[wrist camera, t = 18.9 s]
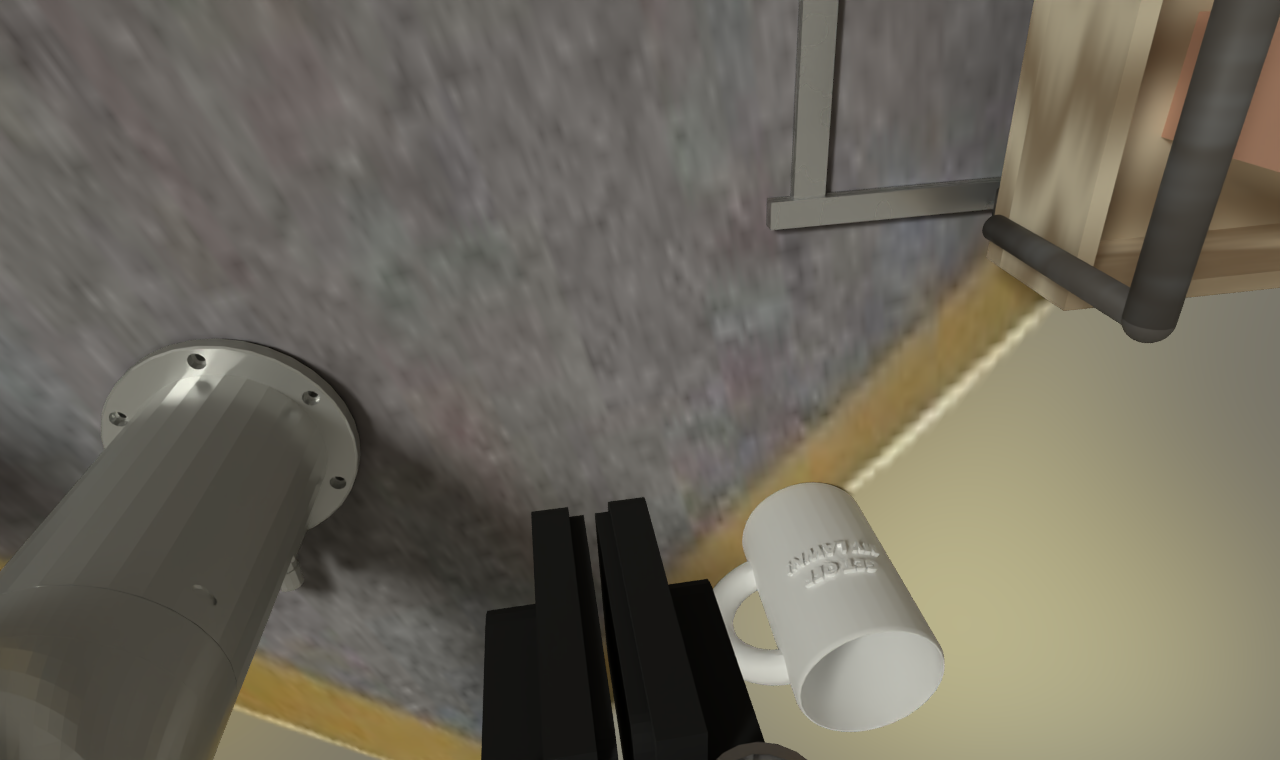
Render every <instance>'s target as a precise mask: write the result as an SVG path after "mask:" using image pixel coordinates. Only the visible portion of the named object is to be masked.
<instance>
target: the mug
mask: <svg viewBox="0 0 1280 760" xmlns="http://www.w3.org/2000/svg"><path fill="white" fill-rule="evenodd" d="M742 543H743V549H744V553H745V556H746V558H747V562H745V563H743V564H741V565H740V566H738V567H736V568H735V569H733V570H732V571H731V572H729V573H728V574H727V575H726V576H725V577H723V578H722V579H721V580H720V581H719V582H718V584H717V585H716V586H715V587H714V589H713V591H714V594H715V597H716V600H717V603H718V606H719V609H720V612H721V615H722V617H723V620H724V623H725V626H726V629H727V632H728V635H729V638H730V641H731V644H732V647H733V650H734V653H735V656H736V659H737V662H738V665H739V668H740V671H741V673H742V676H743V679H744V680H745V681H748V682H751V683H756V684H761V685H771V686H773V685H788V684H791V687H792V690H793V693H794V696H795V699H796V702H797V704H798V706H799V708H800V710H801V711H802V712H803V713H804V714H805V715H806V716H807V717H808V718H809V719H810V720H811V721H812V722H814V723H815V724H817V725H819V726H821V727H824V728H826V729H830V730H835V731H841V732H857V731H866V730H871V729H876V728H880V727H883V726H886V725H889V724H891V723H894V722H896V721H898V720H900V719H902V718H904V717H906V716H908V715H909V714H911V713H912V712H914V711H915V710H917V709H918V708H919V707H921V706H922V705H923V704H924V703H925V702H926V701H927V700H928V699H929V698H930V697H931V696H932V695H933V693H934V692H935V691H936V690H937V688H938V686H939V684H940V682H941V680H942V677H943V673H944V655H943V651H942V648H941V646H940V644H939V643H938V641H937V639H936V638H935V636H934V634H933V633H932V631H931V629H930V627H929V626H928V624H927V622H926V621H925V619H924V617H923V616H922V614H921V612H920V610H919V609H918V607H917V605H916V603H915V602H914V600H913V598H912V597H911V595H910V593H909V591H908V590H907V588H906V586H905V585H904V583H903V581H902V579H901V578H900V576H899V574H898V573H897V571H896V569H895V567H894V566H893V564H892V562H891V561H890V559H889V557H888V555H887V554H886V552H885V550H884V549H883V547H882V545H881V543H880V542H879V540H878V539H877V537H876V535H875V533H874V531H873V530H872V528H871V526H870V525H869V523H868V521H867V519H866V518H865V516H864V514H863V513H862V511H861V509H860V507H859V506H858V504H857V503H856V501H855V500H854V499H853V497H852V496H850V495H849V494H848V493H847V492H845V491H843V490H841V489H840V488H838V487H836V486H833V485H829V484H825V483H816V482H810V483H800V484H796V485H792V486H789V487H786V488H784V489H781V490H779V491H777V492H775V493H774V494H772V495H770V496H768V497H767V498H766V499H765V500H764V501H762V502H761V503H760V504H759V505H758V506H757V507H756V508H755V510H754V511H753V512H752V513H751V515H750V517H749V518H748V520H747V522H746V525H745V528H744V532H743V540H742ZM755 591H758V593H759V596H760V598H761V601H762V604H763V607H764V610H765V613H766V616H767V618H768V621H769V624H770V627H771V630H772V633H773V636H774V639H775V641H776V644H777V647H778V650H777V649H776V650H767V649H760V648H756V647H753V646H750V645H748V644H746V643H745V642H743V641H742V640H741V639H739V638H738V636H737V635H736V633H735V630H734V627H733V619H734V616H735V613H736V610H737V609H738V608H739V606H740V605H741V603H742V602H743V601H744V600H745V599H746V598H747V597H748V596H750V595H751V594H752V593H754V592H755Z"/></svg>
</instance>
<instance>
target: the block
mask: <svg viewBox="0 0 1280 760" xmlns="http://www.w3.org/2000/svg"><path fill="white" fill-rule="evenodd" d="M1210 13H1211V11H1200V12H1199V14H1198V17H1197V21H1196V24H1195V27H1194V31H1193V34H1192V37H1191V41H1190V44H1189V47H1188V50H1187V54H1186V57H1185V60H1184V64H1183V67H1182V70H1181V73H1180V77H1179V80H1178V83H1177V87H1176V90H1175V93H1174V96H1173V100H1172V103H1171V106H1170V110H1169V113H1168V116H1167V120H1166V123H1165V126H1164V129H1163V133H1162V136H1161V137H1163V138H1166V139H1169V140H1173V139H1174V136H1175V132H1176V129H1177V126H1178V122H1179V119H1180V115H1181V112H1182V108H1183V105H1184V102H1185V98H1186V95H1187V91H1188V88H1189V84H1190V81H1191V78H1192V74H1193V71H1194V67H1195V64H1196V61H1197V57H1198V54H1199V50H1200V47H1201V43H1202V40H1203V37H1204V33H1205V30H1206V26H1207V23H1208V19H1209V16H1210ZM1232 158H1233V159H1236V160H1240V161H1243V162H1246V163H1250V164H1253V165H1257V166H1260V167H1263V168H1267V169H1270V170H1273V171H1277V172H1280V17H1279V20H1278V23H1277V26H1276V29H1275V32H1274V35H1273V38H1272V41H1271V44H1270V47H1269V50H1268V53H1267V56H1266V59H1265V62H1264V65H1263V68H1262V71H1261V74H1260V77H1259V80H1258V83H1257V86H1256V89H1255V92H1254V95H1253V97H1252V100H1251V103H1250V106H1249V109H1248V112H1247V115H1246V118H1245V121H1244V124H1243V127H1242V130H1241V133H1240V136H1239V139H1238V142H1237V145H1236V148H1235V151H1234V154H1233V157H1232Z"/></svg>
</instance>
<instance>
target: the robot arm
mask: <svg viewBox="0 0 1280 760" xmlns="http://www.w3.org/2000/svg"><path fill="white" fill-rule="evenodd" d="M312 391H313V392H312ZM314 392H315V393H314ZM101 439H102V443H103V447H104V451H103V452H102V453H101V455H100V456H99V457H98V458H97V459H96V460H95V462H94V463H93V464H92V465H91V466H90V467H89V469H88V470H87V471H86V472H85V473H84V474H83V476H82V477H81V478H80V479H79V480H78V481H77V483H76V484H75V485H74V486H73V487H72V488H71V490H70V491H69V492H68V493H67V494H66V495H65V497H64V498H63V499H62V500H61V501H60V502H59V504H58V505H57V506H56V507H55V508H54V509H53V511H52V512H51V513H50V514H49V515H48V516H47V518H46V519H45V520H44V521H43V522H42V523H41V525H40V526H39V527H38V528H37V529H36V530H35V532H34V533H33V534H32V535H31V536H30V537H29V539H28V540H27V541H26V542H25V543H24V544H23V546H22V547H21V548H20V549H19V550H18V551H17V553H16V554H15V555H14V556H13V557H12V558H11V560H10V561H9V562H8V563H7V564H6V565H5V566H4V568H3V569H2V570H1V571H0V760H213V758H214V756H215V753H216V751H217V748H218V745H219V743H220V740H221V738H222V735H223V733H224V730H225V728H226V725H227V722H228V720H229V717H230V715H231V712H232V710H233V707H234V704H235V702H236V699H237V697H238V694H239V692H240V689H241V687H242V684H243V682H244V679H245V677H246V674H247V671H248V669H249V666H250V664H251V661H252V659H253V656H254V654H255V651H256V649H257V646H258V644H259V641H260V639H261V636H262V634H263V631H264V629H265V626H266V624H267V621H268V619H269V616H270V613H271V611H272V608H273V606H274V603H275V601H276V598H277V596H278V593H279V591H280V590H282V591H284V592H290V591H293V590H296V589H297V588H299V587H300V586H301V585H302V584H303V582H304V575H303V573H302V570H301V568H300V565H299V562H298V561H297V560H296V556H297V554H298V551H299V549H300V546H301V543H302V541H303V538H304V536H305V533H306V531H307V530H309V529H312V528H314V527H315V526H317V525H318V524H320V523H321V522H323V521H324V520H326V519H328V518H329V517H330V516H331V515H332V514H333V513H334V512H335V511H336V510H337V509H338V508H339V507H340V506H341V505H342V504H343V502H344V501H345V499H346V498H347V496H348V494H349V493H350V491H351V489H352V487H353V484H354V481H355V478H356V476H357V472H358V467H359V462H360V457H361V455H360V438H359V435H358V431H357V428H356V425H355V421H354V419H353V417H352V415H351V413H350V412H349V410H348V408H347V406H346V404H345V402H344V401H343V400H342V399H341V398H340V396H339V395H338V394H337V393H336V392H335V390H334V389H333V388H332V387H331V386H330V385H329V384H328V383H327V382H326V381H325V380H324V379H322V378H321V377H320V376H319V375H318V374H317V373H315V372H314V371H313V370H311V369H310V368H308V367H307V366H305V365H303V364H302V363H300V362H298V361H297V360H295V359H294V358H292V357H290V356H287V355H285V354H282V353H280V352H278V351H275V350H273V349H271V348H268V347H264V346H261V345H257V344H253V343H249V342H245V341H238V340H228V339H218V338H215V339H199V340H189V341H185V342H181V343H177V344H172V345H168V346H166V347H164V348H162V349H159V350H157V351H155V352H153V353H151V354H148V355H147V356H145V357H144V358H143V359H141V360H140V361H139V362H137V363H136V364H135V365H133V366H132V367H131V368H130V369H129V370H128V371H127V372H126V373H125V374H124V376H123V377H122V378H121V379H120V380H119V381H118V382H117V383H116V384H115V386H114V388H113V389H112V391H111V392H110V394H109V396H108V397H107V399H106V402H105V405H104V408H103V411H102V415H101ZM531 515H532V537H533V558H534V579H535V600H536V604H532V605H525V606H518V607H511V608H504V609H497V610H490V611H487V614H486V626H485V658H484V690H483V723H482V755H481V760H618V753H617V744H616V736H615V728H614V721H613V714H612V707H611V700H610V693H609V686H608V679H607V672H606V666H605V659H604V652H603V645H602V638H601V631H600V624H599V617H598V611H597V604H596V597H595V590H594V583H593V576H592V569H591V562H590V555H589V549H588V542H587V535H586V528H585V521H584V515H580V516H573V517H569V512H568V507H565V508H558V509H550V510H542V511H535V512H532V513H531ZM595 521H596V532H597V543H598V555H599V566H600V577H601V588H602V599H603V610H604V622H605V633H606V644H607V653H608V661H609V668H610V674H611V681H612V688H613V694H614V701H615V708H616V714H617V721H618V727H619V734H620V741H621V748H622V754H623V760H807V759H805V758H804V757H803V756H801V755H800V754H799V753H797V752H795V751H793V750H791V749H788V748H786V747H783V746H781V745H778V744H771V743H765V741H764V739H763V735H762V733H761V730H760V727H759V724H758V721H757V718H756V715H755V712H754V709H753V706H752V703H751V700H750V697H749V694H748V691H747V688H746V685H745V683H744V679H743V676H742V673H741V671H740V668H739V665H738V662H737V659H736V656H735V653H734V650H733V647H732V644H731V641H730V638H729V635H728V632H727V629H726V626H725V623H724V620H723V617H722V615H721V612H720V609H719V606H718V603H717V600H716V597H715V594H714V591H713V588H712V586H711V584H710V582H709V581H708V579H704V580H697V581H690V582H683V583H676V584H669V585H668V582H667V578H666V575H665V571H664V567H663V563H662V560H661V556H660V552H659V549H658V545H657V541H656V537H655V534H654V530H653V526H652V522H651V519H650V515H649V511H648V508H647V504H646V501H645V498H644V497H642V498H634V499H626V500H619V501H611V502H608V512H603V513H595Z"/></svg>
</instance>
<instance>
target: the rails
mask: <svg viewBox="0 0 1280 760" xmlns="http://www.w3.org/2000/svg"><path fill="white" fill-rule="evenodd" d="M838 2H839V0H799V15H798V37H797V59H796V82H795V104H794V126H793V148H792V170H791V193H790V196H787V197H776V198H767V218H766V225H767V227H768V228H769V229H770V230H778V229H788V228H799V227H809V226H820V225H830V224H841V223H851V222H862V221H872V220H882V219H893V218H903V217H914V216H924V215H935V214H945V213H956V212H966V211H977V210H987V209H993V206H994V201H995V195H996V190H997V189H998V188H999V187H1000V182H1001V177H993V178H982V179H971V180H960V181H949V182H939V183H928V184H917V185H906V186H895V187H884V188H873V189H863V190H852V191H841V192H830V193H825V191H826V177H827V162H828V147H829V133H830V118H831V104H832V89H833V74H834V60H835V45H836V31H837V16H838Z"/></svg>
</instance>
